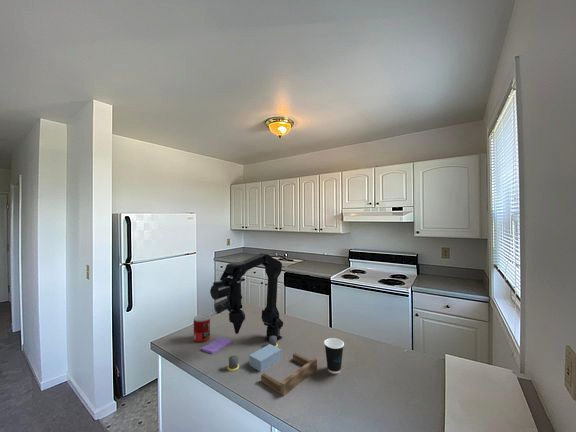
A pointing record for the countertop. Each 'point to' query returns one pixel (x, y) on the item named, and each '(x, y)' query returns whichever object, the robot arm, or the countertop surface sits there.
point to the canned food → (201, 328)
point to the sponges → (216, 345)
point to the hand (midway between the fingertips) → (235, 328)
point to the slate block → (265, 357)
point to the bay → (295, 377)
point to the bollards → (234, 359)
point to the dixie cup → (334, 354)
